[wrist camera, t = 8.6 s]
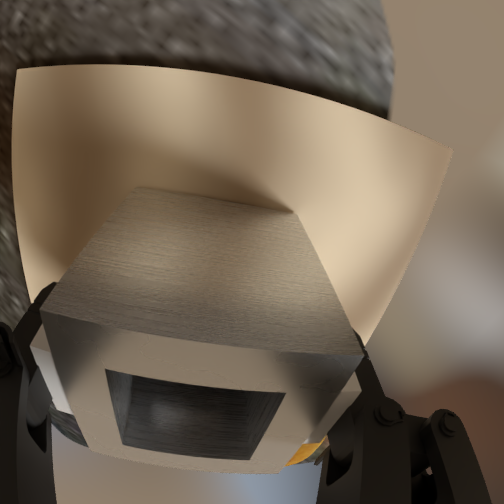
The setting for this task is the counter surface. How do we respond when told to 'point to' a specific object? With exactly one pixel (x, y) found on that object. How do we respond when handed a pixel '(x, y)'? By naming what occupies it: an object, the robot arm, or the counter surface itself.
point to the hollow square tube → (199, 335)
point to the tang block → (219, 167)
